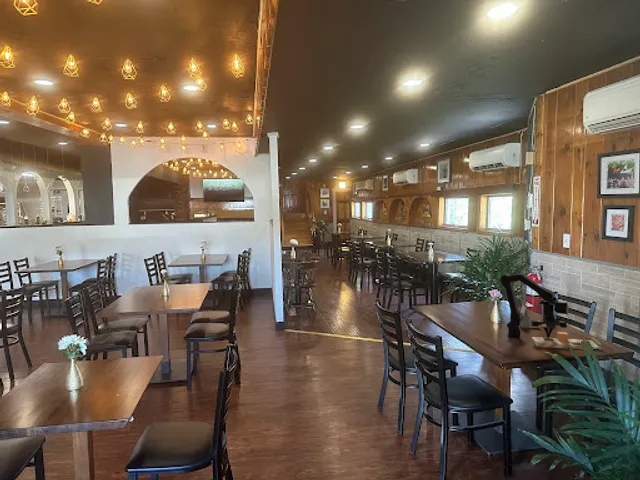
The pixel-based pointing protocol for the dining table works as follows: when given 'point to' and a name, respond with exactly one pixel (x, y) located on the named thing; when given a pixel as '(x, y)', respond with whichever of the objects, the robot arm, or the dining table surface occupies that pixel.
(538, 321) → the robot arm
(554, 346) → the trap board
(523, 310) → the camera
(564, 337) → the orange block
